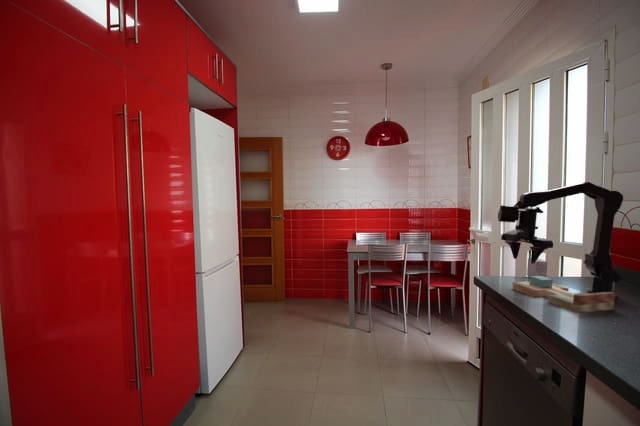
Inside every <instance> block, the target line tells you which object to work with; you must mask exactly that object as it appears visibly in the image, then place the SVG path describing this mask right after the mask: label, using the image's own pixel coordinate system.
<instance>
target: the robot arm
mask: <svg viewBox="0 0 640 426" xmlns="http://www.w3.org/2000/svg"><path fill="white" fill-rule="evenodd" d="M578 194H584V196H587V197H588V198H590V199H592V200H594V207H595V210H596V212H597V213H596V214H597V219H596V223H595V231H594V239H593V247H592V250H591V252H590V253H587V252H586V253H585V254H584V261H583V264H584V265H585V269H587V271H589V273H590V275H591V276H593V278H592V279H593V281H592V286H591V289H590V290H587V293H600V292H613V293H615V292H614V291H615V283H619V282H620V280H621V279H622V277H621V276H620V275H619V273H617V272H616V271H615V270H614V265H613V263H614V262H613V259H612V256H611V253H610V250H611V243H612V242H611V241H612V236H613V229H614V223H615V216H616V214H617V212H619V210H620V209H621V207H622V204H623V202H624V195H623V194H622V192H619V191H618V190H610V189H608V188H605V187H602V186H599V185H596V184H594V183H592V182H591V181H584V182H581V181H580V182H578V183H576V184H571V185H567V186H563V187H559V188H554V189H550V190H549V189H548V190H545V191H531V192H525V193H522V194H521V195H520V196H519V200H518V201H517V202H516V203H515V204H514V205H513V206H509V205H503V204H502V205H500V206H499V210H498V213H497V221H498V222H502V223H516V222H517V221H518V224H516V225H515V226H514V227H515V228H514V229H511V230H509V231H506V232H505V233H503V234H502V235H501V241H504V243H506V244H508V246H509V248H510V251H511V254H512V257H513V259H514V260H516V259H517V258H518V256H519V254H520V253H519V252H520V249H521V248H520V247H521V245H522V243H525V244H531V245H532V246H529V248H530V250H531V256H530V258H531V263H532V264H534V263H535V261H536V260H537V259H538V258H539V257H540V256H542V253H543V252H544V251H545V250H548V249H553V248H554V242H553V240H551V239H544V238H538V236H536V230H538V229H539V226H537V215H538V214H543V213H544V211H543V210H542V209H541V208H540V206H541V205H543V204H545V203H547V202H549V201H551V200H556V199H561V198H566V197H570V196H575V195H578ZM534 207H535V208H534ZM616 297H619V294H616V293H615V298H616Z"/></svg>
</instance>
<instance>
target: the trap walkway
mask: <svg viewBox="0 0 640 426" xmlns="http://www.w3.org/2000/svg"><path fill="white" fill-rule="evenodd" d="M511 288H512V290H515V291H517V292H521V293H523V294H525V293H526V295H529V296H530V297H534V298H538V297H539V298H540V297H546V298H547V299H548V300H547V302H548V303H549V304H552V305H555V306H557V307H561V308H563V309H566V310H569V311H570V312H571V311H572V312H573V313H579V314H581V313H590V312H591V313H592V312H598V311H609V310H610V311H611V310H614V307H615V299H616V297H615V294H616V293H615V292H614V293H613V292H600V293H590V292H586V293H585V292H571V291H569V287H567V286H564V285H560V284H557V283H552V287H546V288H541V287H538V286H535V285H532V284H530V280H529V281H514V282H512V287H511Z"/></svg>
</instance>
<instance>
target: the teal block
mask: <svg viewBox="0 0 640 426" xmlns="http://www.w3.org/2000/svg"><path fill="white" fill-rule="evenodd" d="M553 280H554V279H553V278H550V277H547V276H546V277H543V276H530V277H529V281H530V284H532V285H535V286H538V287H541V288H546V287H552V283H553V282H554V281H553Z"/></svg>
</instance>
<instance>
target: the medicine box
mask: <svg viewBox="0 0 640 426" xmlns="http://www.w3.org/2000/svg"><path fill="white" fill-rule="evenodd" d="M547 272H548V261H545V260H543V259H541V258H539V257H538V259H537V260H536V261H535V263H534V264H532V263H531V257H527V268H526V276H527V277H529V278H530V276H543V277H546V278H547V276H548V275H547Z"/></svg>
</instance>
